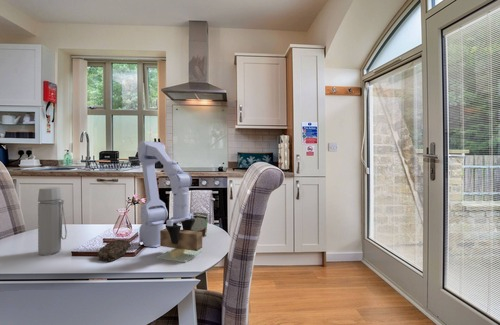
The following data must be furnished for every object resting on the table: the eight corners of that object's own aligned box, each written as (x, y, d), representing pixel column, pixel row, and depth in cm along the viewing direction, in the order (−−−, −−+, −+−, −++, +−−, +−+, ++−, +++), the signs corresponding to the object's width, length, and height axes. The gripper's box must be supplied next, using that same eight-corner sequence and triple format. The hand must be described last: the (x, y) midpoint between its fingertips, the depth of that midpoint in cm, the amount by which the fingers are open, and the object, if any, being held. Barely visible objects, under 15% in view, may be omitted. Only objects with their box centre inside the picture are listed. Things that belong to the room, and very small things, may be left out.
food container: (213, 233, 130) (213, 213, 130) (207, 236, 124) (208, 215, 124) (190, 231, 133) (190, 211, 133) (184, 234, 127) (184, 214, 127)
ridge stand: (157, 258, 97) (157, 250, 97) (176, 248, 108) (176, 240, 108) (185, 262, 93) (185, 254, 93) (202, 251, 104) (202, 243, 104)
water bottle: (33, 257, 97) (33, 189, 97) (43, 250, 105) (43, 187, 105) (62, 254, 100) (62, 188, 100) (70, 248, 107) (70, 186, 107)
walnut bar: (160, 246, 101) (160, 230, 101) (166, 243, 105) (166, 228, 105) (196, 251, 96) (196, 234, 96) (202, 247, 100) (202, 231, 100)
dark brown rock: (115, 249, 106) (115, 237, 106) (135, 253, 103) (135, 240, 103) (89, 259, 95) (89, 246, 95) (110, 263, 92) (110, 249, 92)
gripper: (178, 209, 92) (178, 247, 92) (199, 202, 106) (199, 236, 106) (161, 207, 94) (161, 245, 95) (184, 201, 108) (184, 234, 108)
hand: (180, 240), depth 100 cm, fingers open, 7 cm apart
